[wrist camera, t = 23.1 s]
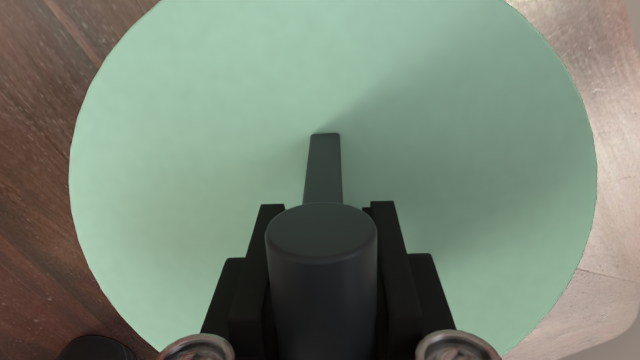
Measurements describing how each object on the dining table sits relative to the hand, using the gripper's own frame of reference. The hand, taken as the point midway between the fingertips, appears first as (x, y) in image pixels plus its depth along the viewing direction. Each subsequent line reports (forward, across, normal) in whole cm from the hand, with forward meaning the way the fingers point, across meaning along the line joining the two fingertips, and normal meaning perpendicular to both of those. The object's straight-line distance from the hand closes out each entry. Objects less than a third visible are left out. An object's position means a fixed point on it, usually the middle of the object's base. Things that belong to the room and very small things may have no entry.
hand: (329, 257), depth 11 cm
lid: (+2, 0, 0) cm, 2 cm away
